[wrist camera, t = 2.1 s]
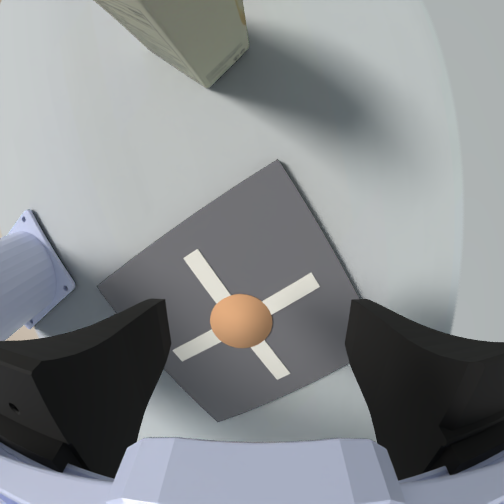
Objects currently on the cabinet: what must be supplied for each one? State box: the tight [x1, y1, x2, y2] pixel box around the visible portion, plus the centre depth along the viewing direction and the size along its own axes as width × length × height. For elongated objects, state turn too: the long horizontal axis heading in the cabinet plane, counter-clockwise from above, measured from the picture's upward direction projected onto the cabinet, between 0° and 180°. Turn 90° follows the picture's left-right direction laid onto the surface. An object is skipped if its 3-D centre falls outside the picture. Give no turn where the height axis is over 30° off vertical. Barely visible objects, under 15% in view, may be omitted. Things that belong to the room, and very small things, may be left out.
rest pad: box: [97, 159, 359, 422], centre depth 21 cm, size 16×16×1 cm
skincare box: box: [94, 0, 249, 88], centre depth 10 cm, size 6×4×12 cm
